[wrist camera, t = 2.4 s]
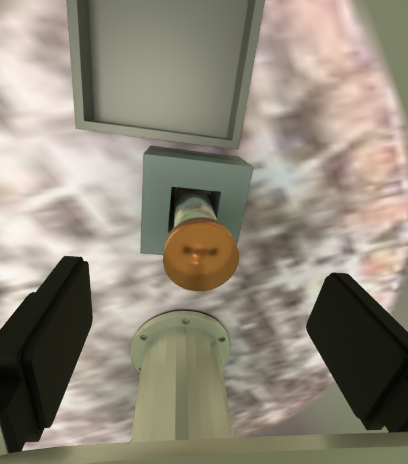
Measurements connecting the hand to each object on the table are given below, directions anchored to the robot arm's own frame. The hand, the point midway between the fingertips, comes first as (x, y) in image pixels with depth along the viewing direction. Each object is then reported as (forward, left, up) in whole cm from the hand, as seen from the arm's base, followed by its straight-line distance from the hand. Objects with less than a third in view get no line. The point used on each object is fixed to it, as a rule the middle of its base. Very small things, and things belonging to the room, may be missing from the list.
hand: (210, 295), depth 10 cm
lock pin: (-1, 0, -16) cm, 16 cm away
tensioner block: (-1, 0, -16) cm, 16 cm away
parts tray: (+10, +3, -16) cm, 19 cm away
